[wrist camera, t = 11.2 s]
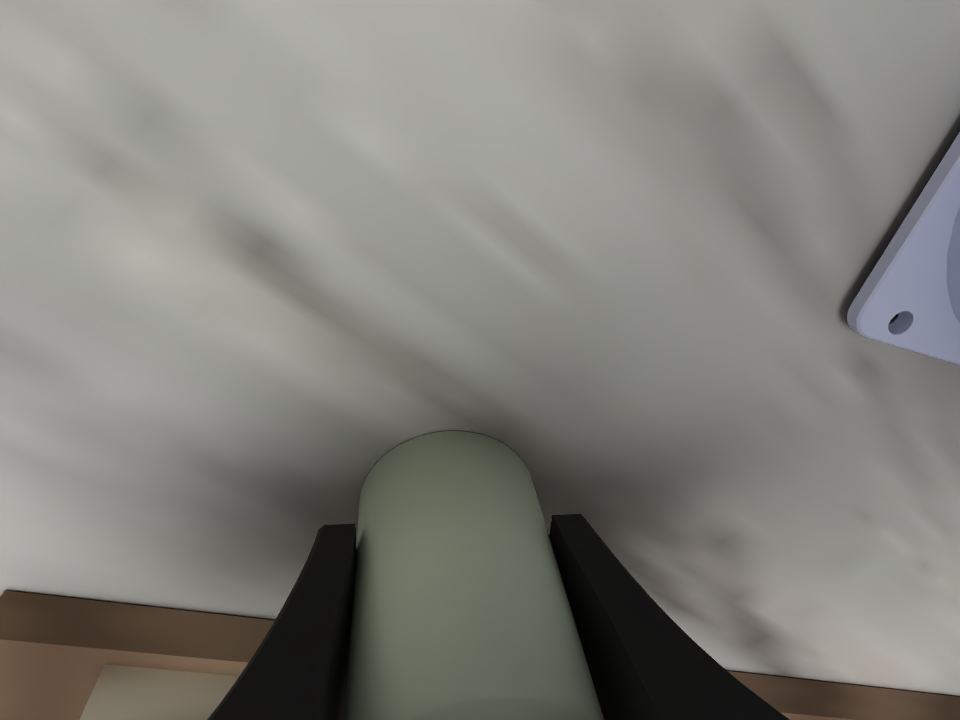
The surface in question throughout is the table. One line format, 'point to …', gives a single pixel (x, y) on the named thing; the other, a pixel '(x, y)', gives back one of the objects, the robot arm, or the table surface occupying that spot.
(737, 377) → the table surface
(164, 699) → the walnut base with seat
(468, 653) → the cylinder
